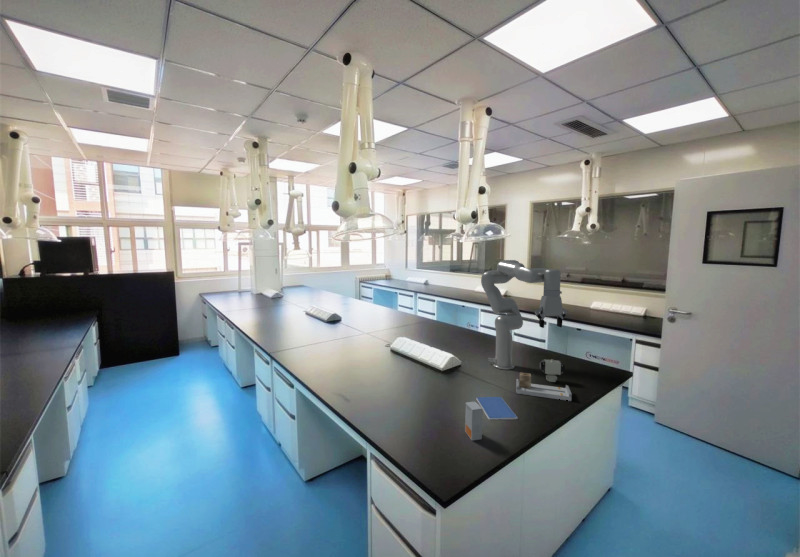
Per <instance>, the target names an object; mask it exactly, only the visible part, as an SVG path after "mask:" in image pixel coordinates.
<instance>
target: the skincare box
mask: <svg viewBox="0 0 800 557" xmlns="http://www.w3.org/2000/svg"><path fill="white" fill-rule="evenodd" d="M464 415H465V418H464V419H465V420H464V431H465V434H466V435H467V436H468V437H469V439H470V440H471V441H478V440H482V438H483V409H482V408H481V406H480V404H479V403H478V402H476V401H468V402H465V414H464Z"/></svg>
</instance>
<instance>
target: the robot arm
mask: <svg viewBox="0 0 800 557" xmlns="http://www.w3.org/2000/svg"><path fill="white" fill-rule="evenodd" d="M514 278H515V279H517V280H518V281H520V282H524V283H528V284H533V283H534V284H536V283H537V284H538V283H543V295H541V298H540V302H539V308H537V309H535V310H534V314H535V316H536V317H537V319H538V325H539V327H540V328H542V329H544V328H545V318H546V317H557V319H556V326H557V327H558V328H562V327H563V320H564V318H565V317H566V315H567V313H568V310H567V309H565V308H563V301H562V296H561V294H563V291H561V270H560V269H557V268H542V267H541V268H537V267H536V268H535V267H533V268H529V267H526V265H524V264H523V263H521V262H519V260H516V259H504V260H503V259H502V260H500V261H499V262H498V263H497V265H496V269H495V270H486V271H485V272H484V273H483V274H482V275H481V280H480V283H481V287H482V289H483V291H484V292H485V294H486V297H487V300H488V302H489V305H490V308H491V311H492V312H493V313H494V314H496V315H497V314H498V316H497V317H495V320H494V328H495V356H494V357H487V361H488V362H489V363H492V366H493V367H494V368H496V369H499V370H504V371H505V370H507V371H508V370H512V369H513V370H514V368H515V365H514V363H513V361H512V360H513V335H512V333H511V331H514V330H519V329H522V327H523V325H524V321H523V320H524V319H523V316H522V314H521V312H520V309H519V307H518V304H517V302H516V301H515V300H514V299H513V298H511V297H503V295H502V293H501V290H500V289H499V287H497V286H496V284H500V285H501V284H506V283H509V282H510V281H511V280H512V279H514Z"/></svg>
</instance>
